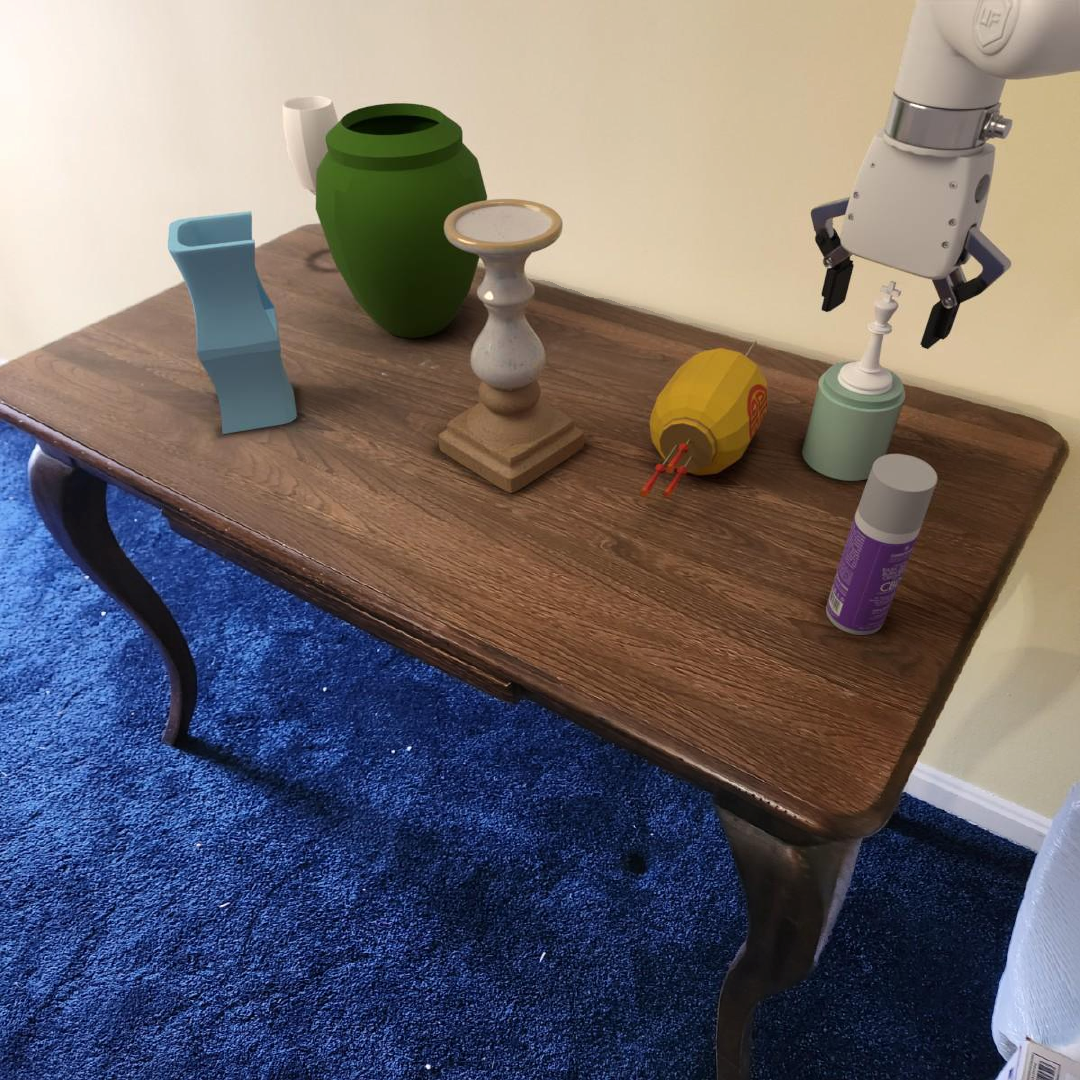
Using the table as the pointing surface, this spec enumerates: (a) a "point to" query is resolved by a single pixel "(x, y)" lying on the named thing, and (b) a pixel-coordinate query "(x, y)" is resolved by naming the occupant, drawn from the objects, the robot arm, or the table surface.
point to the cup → (307, 135)
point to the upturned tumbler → (850, 427)
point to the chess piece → (873, 351)
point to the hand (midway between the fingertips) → (880, 323)
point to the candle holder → (507, 351)
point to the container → (880, 542)
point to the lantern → (707, 414)
